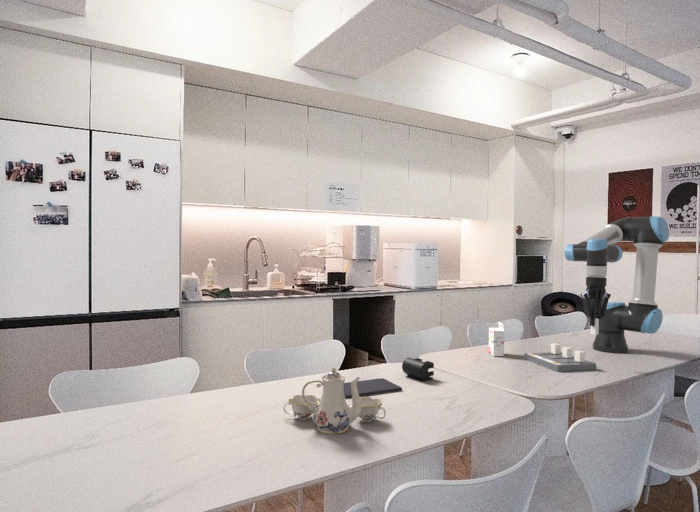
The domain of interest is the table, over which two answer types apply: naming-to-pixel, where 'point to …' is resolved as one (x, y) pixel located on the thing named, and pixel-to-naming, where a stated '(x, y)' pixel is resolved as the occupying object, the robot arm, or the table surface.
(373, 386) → the notebook
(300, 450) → the table surface
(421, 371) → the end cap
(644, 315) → the robot arm
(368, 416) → the chinaware
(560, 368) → the switch panel
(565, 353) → the tab
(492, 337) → the ink cartridge box
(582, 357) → the tab
